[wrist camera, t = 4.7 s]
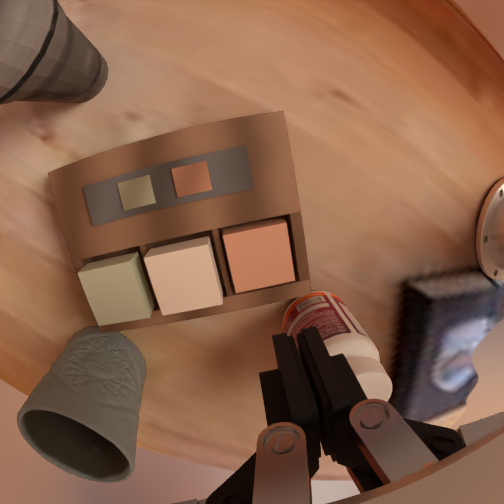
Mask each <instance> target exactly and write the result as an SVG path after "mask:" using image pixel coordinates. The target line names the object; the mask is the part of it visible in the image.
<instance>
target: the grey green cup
mask: <svg viewBox="0 0 504 504" xmlns="http://www.w3.org/2000/svg"><path fill="white" fill-rule="evenodd" d="M145 376H146V364H145V359H144V358H143V357H142V353H141V352H140V351H139V349H138V348H137V347H136V346H135V345H134V344H133V343H132V342H131V341H130V340H129V339H127V338H126V337H125V336H123V335H122V334H120V333H119V332H117V331H115V332H108V333H101V332H100V329H99V327H98V326H92V327H87V328H84V329H82V330H80V331H79V332H77V333H76V334H75V335H74V336H73V337H72V339H71V340H70V341H69V342H68V344H67V345H66V347H65V349H64V351H63V353H62V354H61V355H60V356H59V357H58V358H57V360H56V361H55V362H53V364H52V366H51V368H50V370H49V372H48V373H47V374H46V375H45V376H44V377H43V378H42V379H41V381H40V382H39V383H38V384H37V386H36V387H35V388H34V390H33V391H32V393H31V394H30V396H29V397H28V399H27V400H26V402H25V403H24V405H23V406H22V408H21V409H20V411H19V412H18V414H17V423H18V427H19V430H20V432H21V434H22V436H23V437H24V439H25V440H26V441H27V442H28V443H29V444H30V446H31V447H32V448H33V449H34V450H35V451H36V452H37V453H39V454H40V455H41V456H42V457H43V458H45V459H46V460H47V461H49V462H51V463H52V464H54V465H56V466H57V467H59V468H60V469H62V470H64V471H66V472H69V473H71V474H73V475H76V476H78V477H81V478H84V479H88V480H92V481H97V482H105V483H114V482H120V481H123V480H126V479H128V478H129V477H130V476H131V474H132V472H133V470H134V464H135V452H136V436H137V429H138V421H139V413H138V412H139V411H140V405H141V398H142V390H143V384H144V381H145Z"/></svg>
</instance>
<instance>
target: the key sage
mask: <svg viewBox="0 0 504 504" xmlns="http://www.w3.org/2000/svg"><path fill="white" fill-rule="evenodd" d="M78 276H79V279H80V282H81V284H82V287H83V289H84V292H85V295H86V297H87V300H88V302H89V305H90V307H91V309H92V312H93V314H94V316H95V319H96V321H97V323H98V326H101V325H108V324H114V323H121V322H127V321H133V320H139V319H145V318H150V316H151V314H152V311H153V309H154V306H155V304H154V301H153V298H152V295H151V292H150V289H149V286H148V283H147V280H146V277H145V274H144V271H143V268H142V264H141V261H140V258H139V255H138V252H135V253H130V254H126V255H121V256H117V257H113V258H109V259H104V260H100V261H96V262H92V263H87V264H86V265H85V266H84V267H83V268H82V269H81V270H80V271H79V272H78Z"/></svg>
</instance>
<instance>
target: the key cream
mask: <svg viewBox="0 0 504 504" xmlns="http://www.w3.org/2000/svg"><path fill="white" fill-rule="evenodd" d="M144 261H145V264H146V267H147V271H148V274H149V277H150V280H151V283H152V286H153V289H154V292H155V295H156V298H157V301H158V304H159V307H160V310H161V312H162V315H169V314H174V313H180V312H185V311H191V310H196V309H201V308H207V307H212V306H217V305H222V304H223V292H222V288H221V284H220V280H219V275H218V271H217V267H216V263H215V259H214V255H213V251H212V247H211V242H210V238H209V236H207V237H202V238H198V239H193V240H188V241H184V242H179V243H175V244H170V245H166V246H161V247H157V248H152V249H150V250H149V251H148V253H147V254H146V255H145V257H144Z"/></svg>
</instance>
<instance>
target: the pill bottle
mask: <svg viewBox="0 0 504 504" xmlns="http://www.w3.org/2000/svg"><path fill="white" fill-rule="evenodd" d="M311 293H312V294H310V295H306V296H301V297H298V298H296V299H295V300H294V301H293V302H292V303H291V304H290V305H289V306H288V308H287V309H286V311H285V313H284V316H283V319H282V330H283V333H286V334H287V336H291V335H293V338H294V341H295V343H296V346H297V349H298V342H297V334H299V333H301V329H304V328H309V327H313V326H316V328H317V330H318V332H319V334H320V336H321V338H322V340H323V342H324V344H325V346H326V348H327V350H328V352H329V354H330V356H334V355H338V354H341V353H342V354H344V356H345V357H346V359H347V361H348V363H349V365H350V367H351V368H352V370H353V372H354V374H355V376H356V378H357V380H358V381H359V383H360V385H361V387H362V389H363V391H364V393H365V394H366V396H367V398H368V399H381V400H384V401H386V402H387V401H388V400H389V398H390V396H391V393H392V382H391V380H390V378H389V376H388V375H387V373H386V372H385V370H384V368H383V366H382V365H381V363H380V357H379V352H378V350H377V348H376V346H375V345H374V343H373V342H372V340H371V339H370V337H369V336H368V335H367V333H366V332H365V331H364V329H363V328H362V327H361V325H360V324H359V323H358V321H357V320H356V319H355V317H354V316H353V315H352V313H351V312H350V311H349V309H348V308H347V307H346V306H345V304H344V303H343V302H342V301H341V300H340V299H339V298H338V297H337V296H336V295H334V294H332V293H330V292H327V291H311ZM298 352H299V350H298Z"/></svg>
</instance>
